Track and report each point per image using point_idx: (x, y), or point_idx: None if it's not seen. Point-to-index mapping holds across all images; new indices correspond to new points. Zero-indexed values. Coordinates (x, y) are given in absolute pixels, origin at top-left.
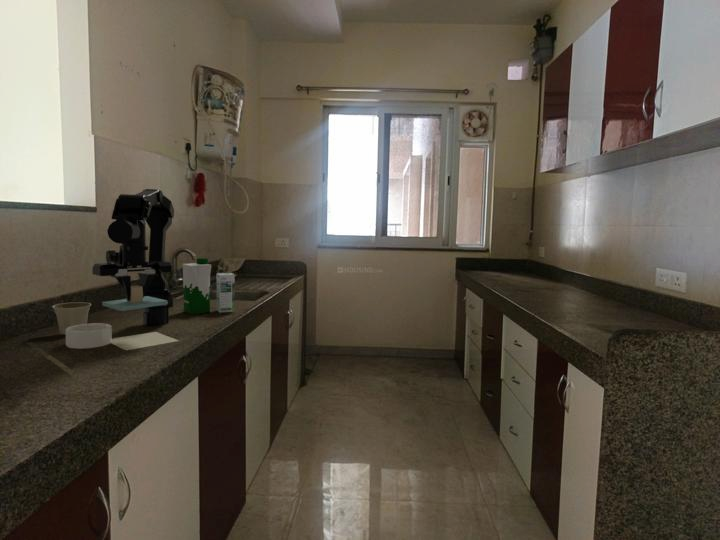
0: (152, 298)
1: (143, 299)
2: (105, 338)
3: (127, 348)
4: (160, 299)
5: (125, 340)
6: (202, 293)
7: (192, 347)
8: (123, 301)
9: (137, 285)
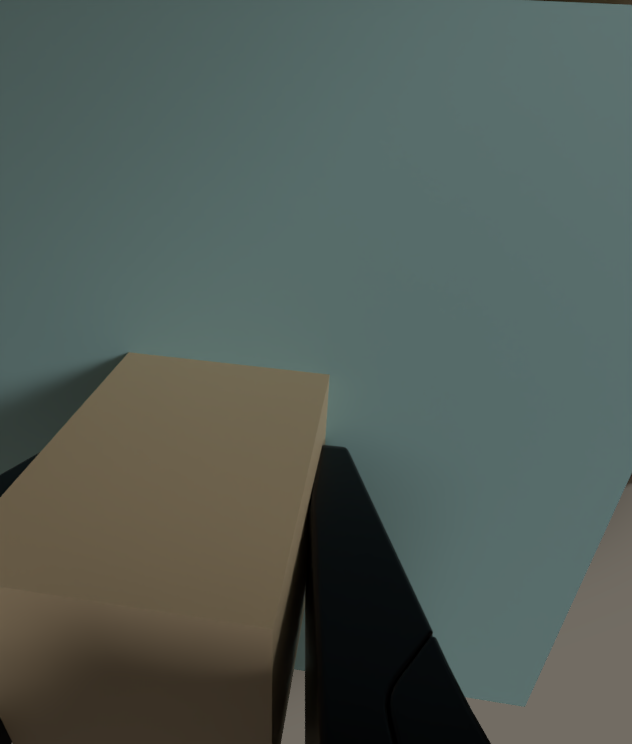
0: (567, 450)
1: (410, 408)
2: None
3: None
4: (548, 604)
5: None
6: None
7: None
8: (80, 307)
9: (271, 631)
